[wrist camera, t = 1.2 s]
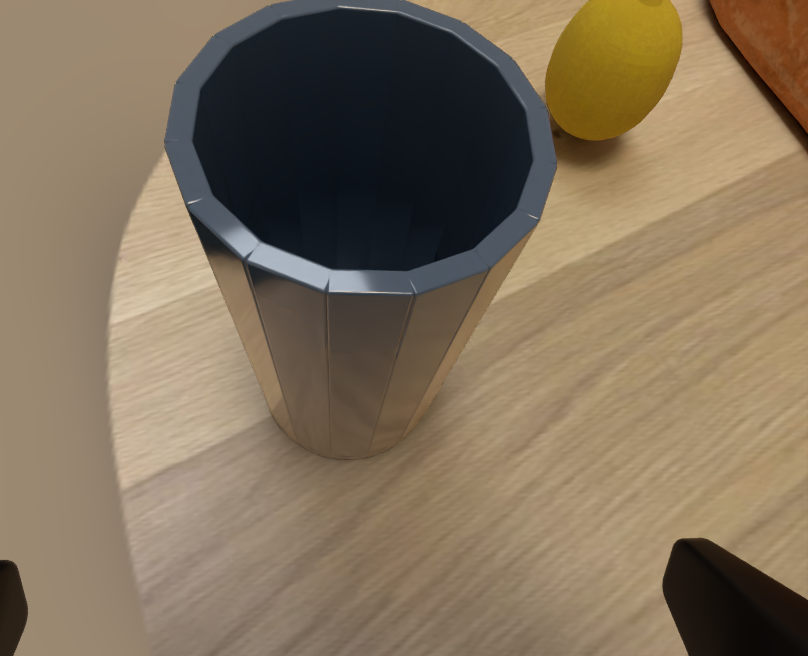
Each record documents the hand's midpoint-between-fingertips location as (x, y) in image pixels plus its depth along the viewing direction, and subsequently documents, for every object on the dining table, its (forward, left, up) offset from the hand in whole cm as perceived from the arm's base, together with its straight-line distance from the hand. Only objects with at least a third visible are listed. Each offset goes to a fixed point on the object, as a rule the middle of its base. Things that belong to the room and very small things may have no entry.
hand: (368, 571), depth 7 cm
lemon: (+21, -12, -13) cm, 28 cm away
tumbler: (+7, 0, -13) cm, 15 cm away
